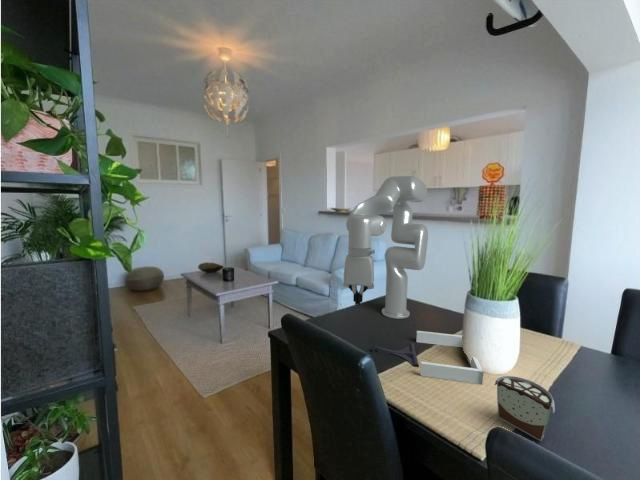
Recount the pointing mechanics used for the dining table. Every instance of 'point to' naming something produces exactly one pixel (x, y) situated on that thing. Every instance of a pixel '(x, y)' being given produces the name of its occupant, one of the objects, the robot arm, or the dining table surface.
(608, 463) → the dining table surface
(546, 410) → the mint chocolate cake slice
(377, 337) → the dining table surface
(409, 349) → the bracket
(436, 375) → the box
